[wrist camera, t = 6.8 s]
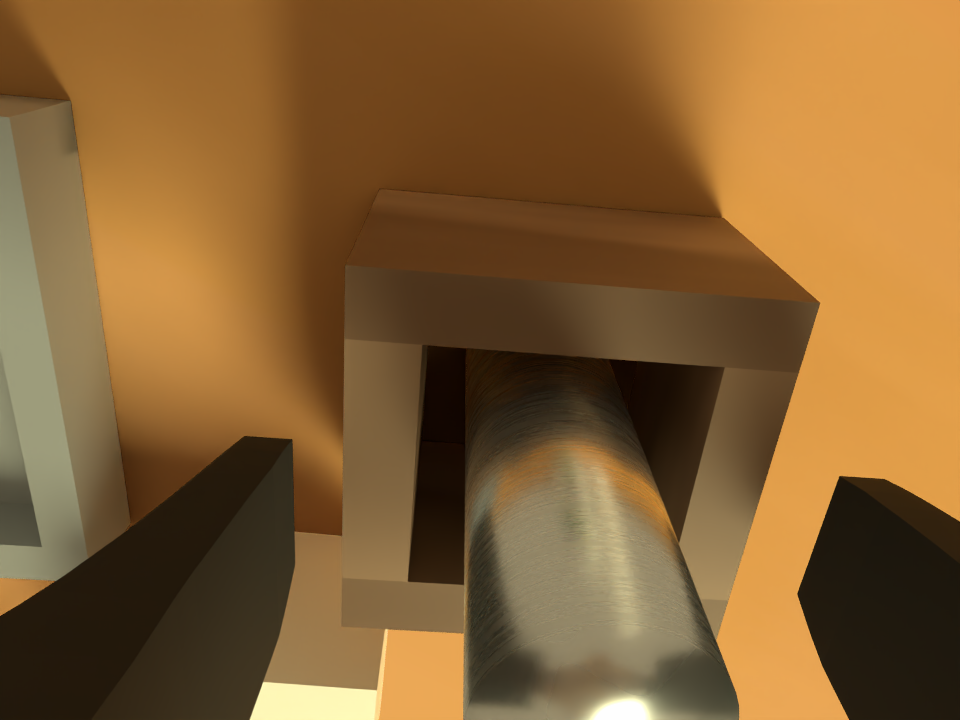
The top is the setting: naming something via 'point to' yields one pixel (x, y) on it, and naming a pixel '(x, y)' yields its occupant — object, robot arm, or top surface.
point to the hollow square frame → (558, 331)
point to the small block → (321, 646)
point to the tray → (51, 356)
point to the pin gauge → (573, 557)
